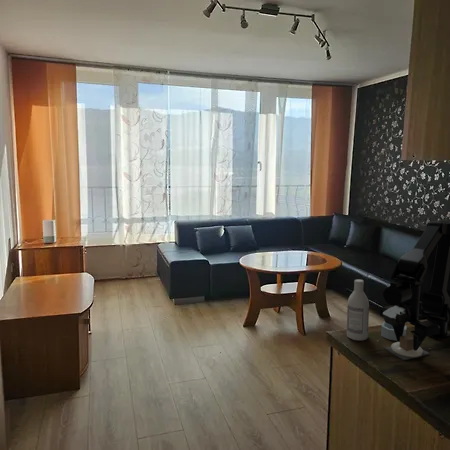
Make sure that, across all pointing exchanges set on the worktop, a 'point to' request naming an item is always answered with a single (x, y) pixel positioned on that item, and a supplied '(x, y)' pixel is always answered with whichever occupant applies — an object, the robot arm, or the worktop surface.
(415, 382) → the worktop surface
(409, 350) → the lid
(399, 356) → the mat
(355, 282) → the bath foam
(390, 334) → the bowl
